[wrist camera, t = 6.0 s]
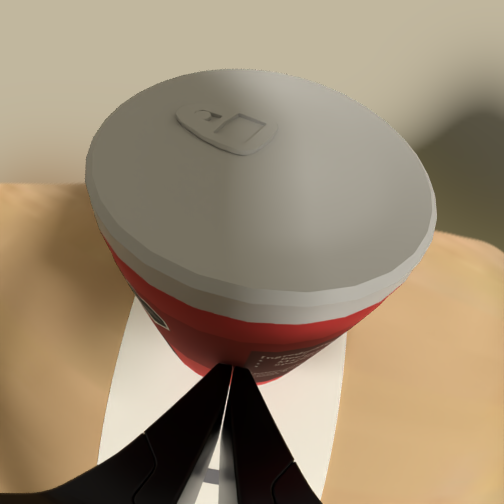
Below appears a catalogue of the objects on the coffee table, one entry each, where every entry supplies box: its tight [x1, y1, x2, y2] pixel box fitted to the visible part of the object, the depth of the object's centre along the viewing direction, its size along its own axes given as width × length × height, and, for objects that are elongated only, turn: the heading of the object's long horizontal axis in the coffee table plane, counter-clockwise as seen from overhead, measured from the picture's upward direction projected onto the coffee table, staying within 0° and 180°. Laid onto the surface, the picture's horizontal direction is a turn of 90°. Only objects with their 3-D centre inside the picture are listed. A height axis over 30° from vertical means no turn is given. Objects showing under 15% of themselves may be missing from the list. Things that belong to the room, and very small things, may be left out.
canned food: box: [85, 69, 437, 386], centre depth 10 cm, size 8×8×11 cm
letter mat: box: [97, 295, 347, 504], centre depth 11 cm, size 21×12×1 cm, turn 170°
